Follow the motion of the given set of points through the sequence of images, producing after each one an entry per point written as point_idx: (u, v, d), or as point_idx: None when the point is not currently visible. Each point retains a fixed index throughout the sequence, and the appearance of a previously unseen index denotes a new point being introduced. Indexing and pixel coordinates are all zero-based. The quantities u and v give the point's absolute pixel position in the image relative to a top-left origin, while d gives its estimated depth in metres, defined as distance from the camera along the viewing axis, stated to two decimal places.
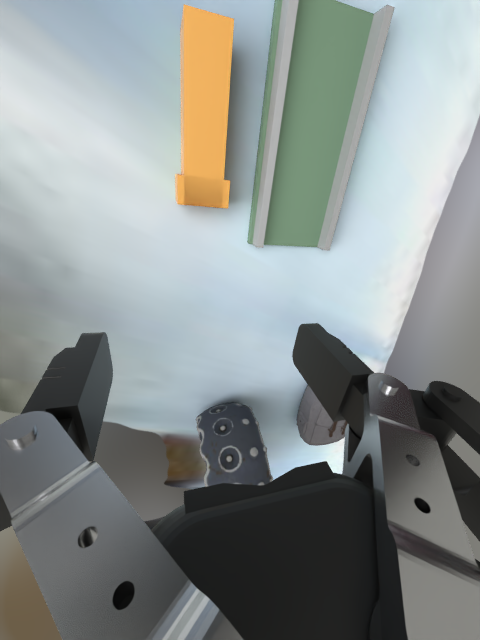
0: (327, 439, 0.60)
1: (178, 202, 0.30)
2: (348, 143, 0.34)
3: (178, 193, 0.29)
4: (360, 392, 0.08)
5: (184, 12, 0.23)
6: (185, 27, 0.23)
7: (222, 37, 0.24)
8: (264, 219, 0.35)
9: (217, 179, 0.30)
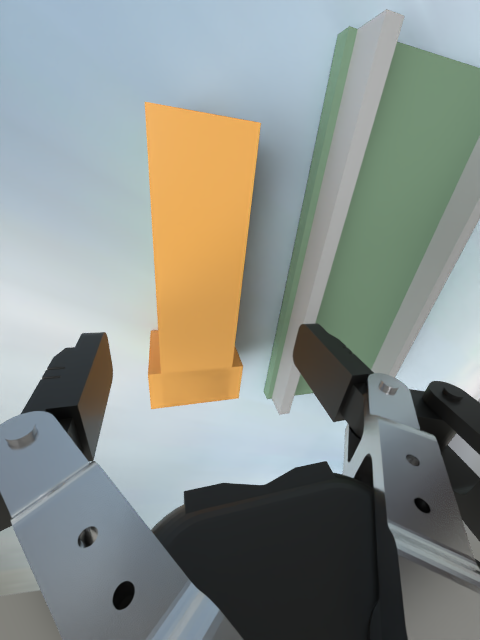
0: None
1: (152, 406, 0.17)
2: (432, 273, 0.21)
3: (151, 396, 0.17)
4: (360, 392, 0.08)
5: (147, 117, 0.10)
6: (151, 147, 0.10)
7: (235, 159, 0.11)
8: (293, 383, 0.22)
9: (221, 368, 0.17)
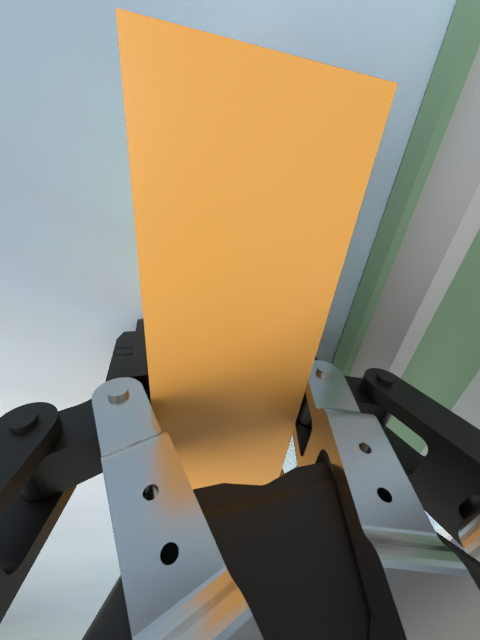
0: None
1: None
2: None
3: None
4: None
5: (126, 58, 0.04)
6: (137, 141, 0.04)
7: (329, 168, 0.05)
8: None
9: None
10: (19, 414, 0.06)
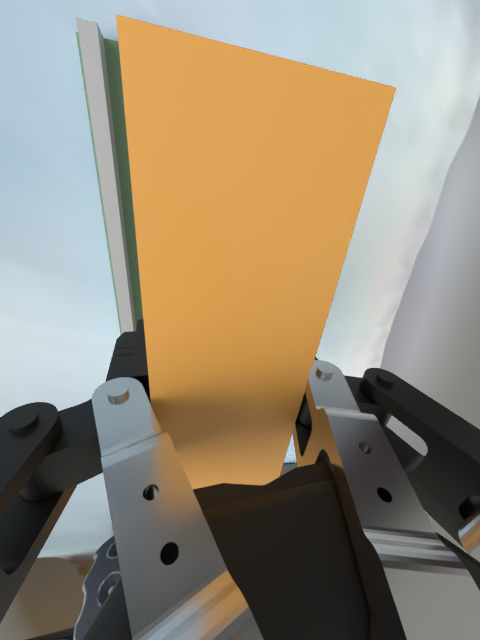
0: None
1: None
2: None
3: None
4: None
5: (126, 63, 0.04)
6: (137, 145, 0.04)
7: (328, 171, 0.05)
8: None
9: None
10: (19, 414, 0.06)
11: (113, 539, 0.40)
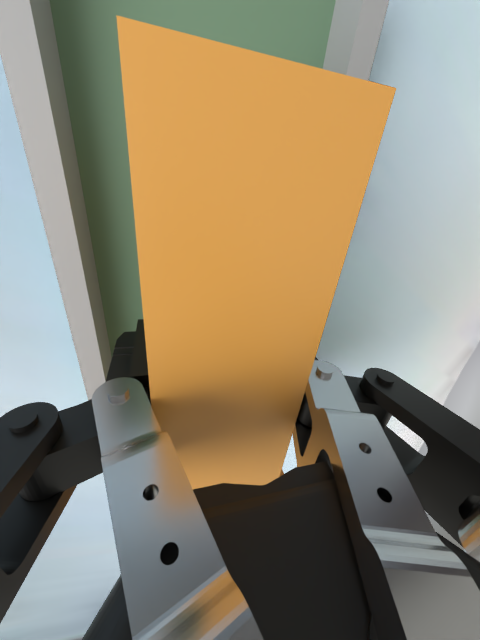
0: None
1: None
2: None
3: None
4: None
5: (126, 64, 0.04)
6: (137, 146, 0.04)
7: (328, 172, 0.05)
8: None
9: None
10: (19, 414, 0.06)
11: None
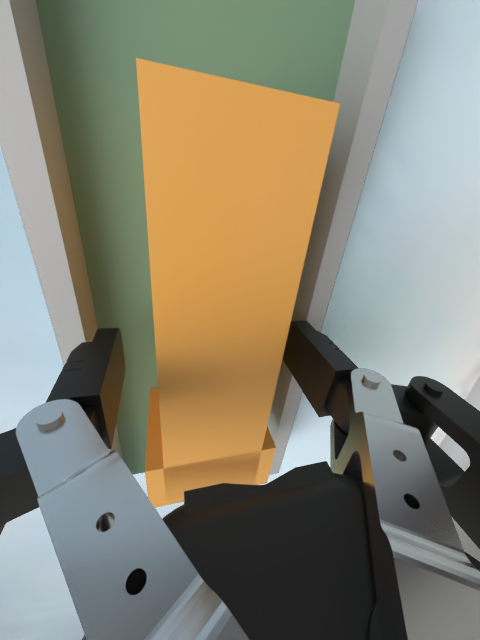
0: None
1: None
2: (302, 308, 0.13)
3: (150, 495, 0.12)
4: (343, 387, 0.08)
5: (142, 89, 0.05)
6: (148, 146, 0.06)
7: (292, 166, 0.06)
8: None
9: (246, 453, 0.12)
10: None
11: None
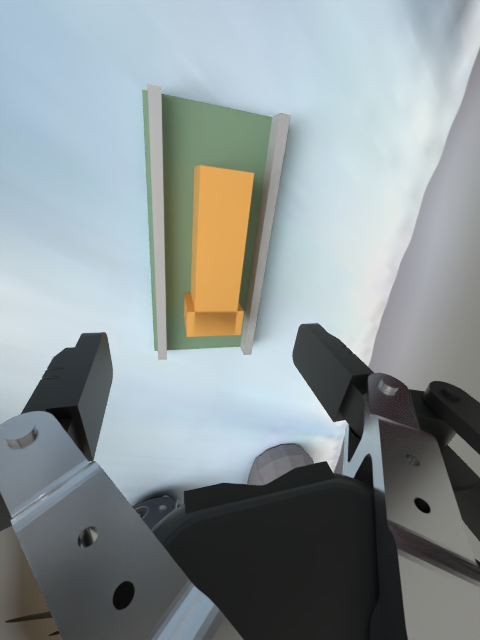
0: None
1: (187, 335, 0.28)
2: (257, 251, 0.29)
3: (188, 327, 0.27)
4: (360, 392, 0.08)
5: (200, 171, 0.21)
6: (201, 185, 0.21)
7: (241, 190, 0.22)
8: (162, 333, 0.30)
9: (230, 311, 0.27)
10: None
11: None
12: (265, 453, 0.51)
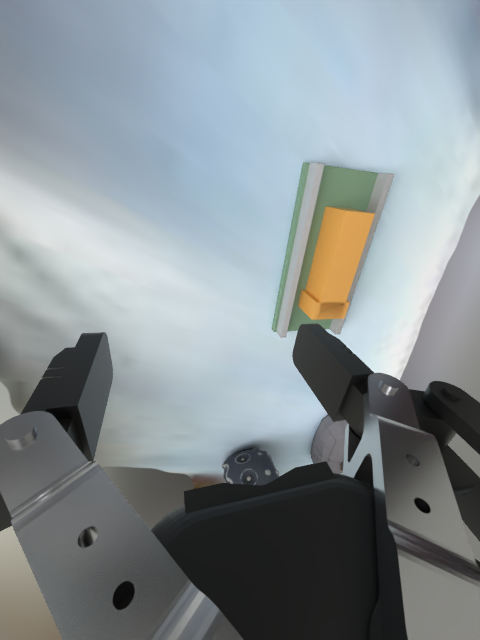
0: (339, 471, 0.66)
1: (312, 318, 0.40)
2: None
3: (314, 313, 0.40)
4: (360, 392, 0.08)
5: (345, 214, 0.33)
6: (344, 222, 0.34)
7: (365, 224, 0.35)
8: (288, 318, 0.43)
9: (341, 302, 0.40)
10: None
11: (234, 456, 0.58)
12: None
